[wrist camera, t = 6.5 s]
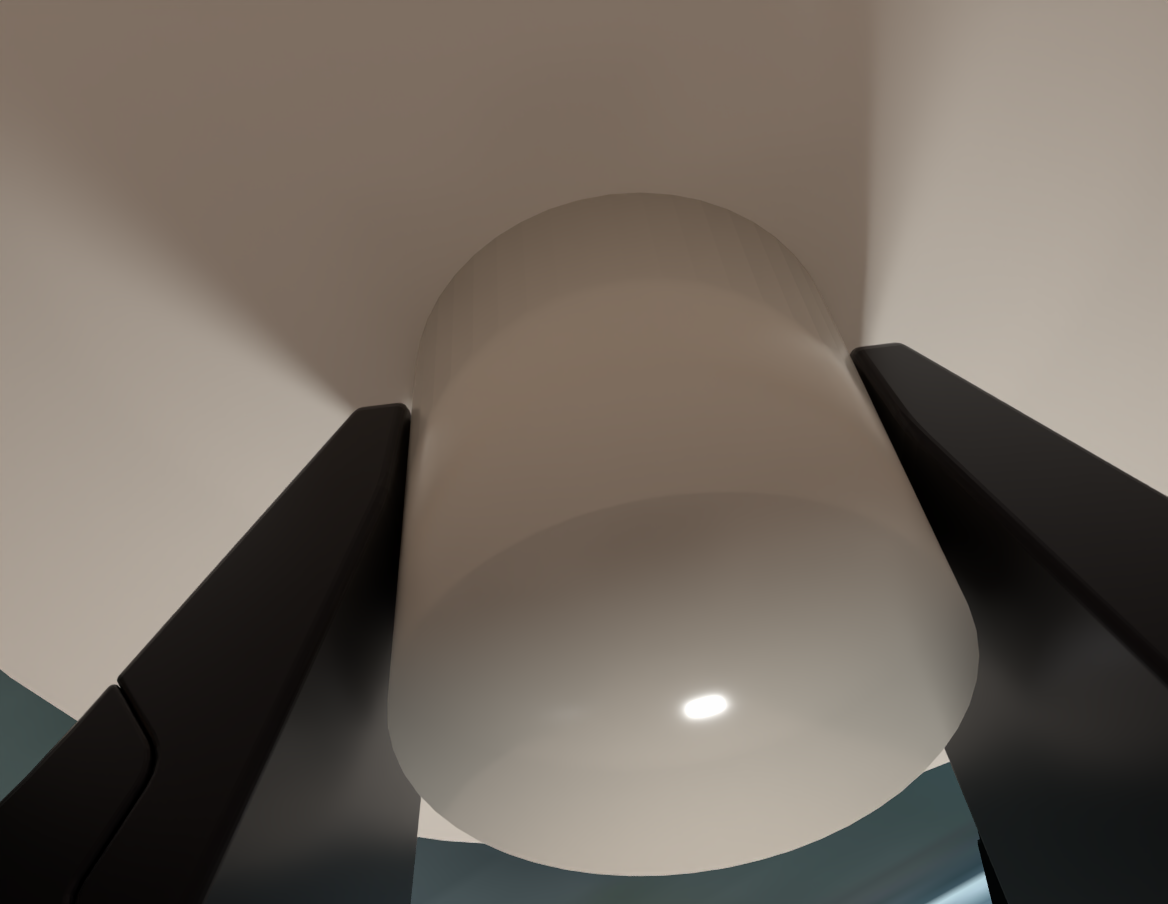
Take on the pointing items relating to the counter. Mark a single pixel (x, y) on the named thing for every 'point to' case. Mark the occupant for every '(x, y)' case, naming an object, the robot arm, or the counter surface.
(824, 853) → the counter surface
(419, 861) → the counter surface
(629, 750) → the lid
